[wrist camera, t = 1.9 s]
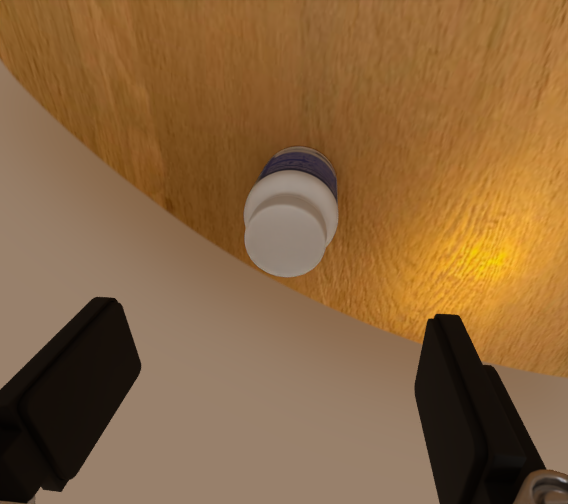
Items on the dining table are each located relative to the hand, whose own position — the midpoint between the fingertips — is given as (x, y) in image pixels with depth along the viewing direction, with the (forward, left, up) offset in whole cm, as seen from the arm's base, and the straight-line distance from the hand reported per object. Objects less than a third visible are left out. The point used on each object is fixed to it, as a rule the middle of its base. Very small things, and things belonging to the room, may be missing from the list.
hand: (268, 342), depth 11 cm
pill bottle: (0, 0, -16) cm, 16 cm away
